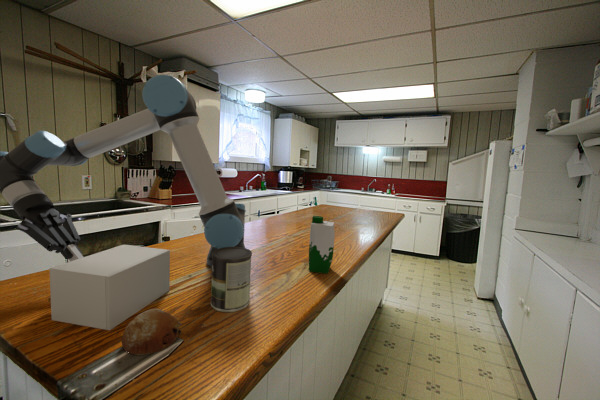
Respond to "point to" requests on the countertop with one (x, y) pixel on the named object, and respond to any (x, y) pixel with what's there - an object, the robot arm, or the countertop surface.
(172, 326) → the bread roll
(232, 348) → the countertop surface
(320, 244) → the milk carton
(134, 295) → the plain grey box
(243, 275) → the coffee can
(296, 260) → the countertop surface
